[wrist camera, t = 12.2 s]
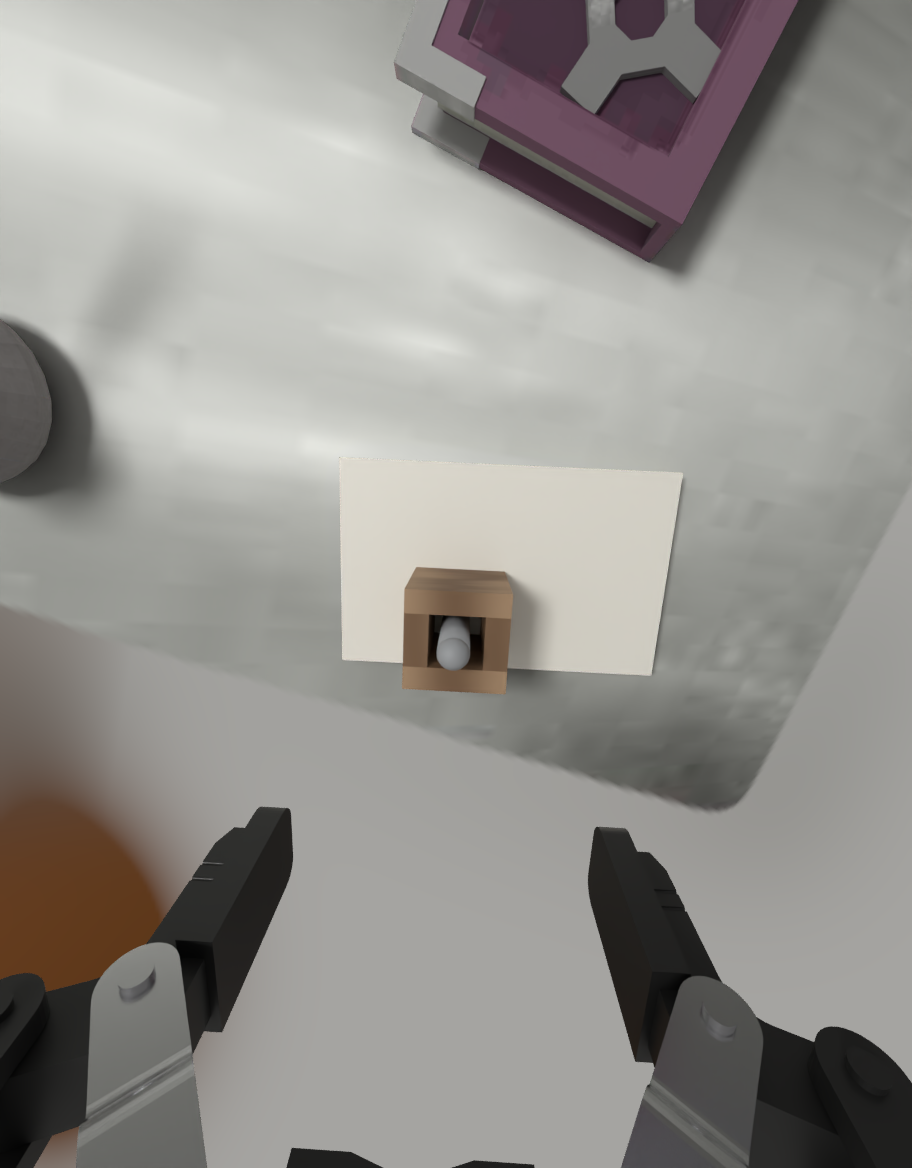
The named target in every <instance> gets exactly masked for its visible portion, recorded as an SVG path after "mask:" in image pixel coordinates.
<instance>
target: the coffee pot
mask: <svg viewBox="0 0 912 1168" xmlns="http://www.w3.org/2000/svg"><path fill="white" fill-rule="evenodd" d="M51 423H52V404H51V397H50V393H49V390H48V386H47V382H46V379H45V375H44V373H43V371H42V370H41V368H40V366H39V364H38V362H37V360H36V358H35V356H34V354H33V352H32V351H31V350H30V349H29V348H28V346H27V345H26V344H25V343H24V341H23V340H22V339H21V338H20V337H19V335H18V334H17V333H16V332H15V331H14V330H13V329H12V328H10V327H9V326H8V325H7V324H6V323H5V322H3V321H2V320H1V319H0V483H2V482H4V481H7V480H9V479H11V478H14V477H15V476H17V475H19V474H20V473H22V472H23V471H24V470H26V469H27V468H28V467H29V466H30V465H31V464H32V463H34V462H35V461H36V460H37V458H38V457H39V455H40V453H41V452H42V450H43V448H44V447H45V445H46V443H47V440H48V436H49V432H50V427H51Z"/></svg>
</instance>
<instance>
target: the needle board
mask: <svg viewBox="0 0 912 1168" xmlns="http://www.w3.org/2000/svg"><path fill="white" fill-rule="evenodd" d="M339 470H340V534H341V598H342V660H355V661H375V662H394V663H403V630H404V589H405V587H406V585H407V583H408V581H409V579H410V578H411V576H412V574H413V572H414V570H415V568H416V567H426V568H445V569H465V570H485V571H504V572H505V574H506V576H507V579H508V582H509V584H510V587H511V590H512V592H513V604H512V617H511V630H510V642H509V655H508V667H507V668H511V669H531V670H550V671H570V672H590V673H609V674H629V675H648V676H651V673H652V667H653V661H654V654H655V648H656V642H657V635H658V629H659V623H660V616H661V610H662V604H663V597H664V591H665V585H666V578H667V572H668V566H669V559H670V553H671V546H672V540H673V534H674V527H675V521H676V515H677V508H678V502H679V496H680V489H681V483H682V477H683V473H676V472H654V471H632V470H610V469H588V468H566V467H544V466H522V465H500V464H478V463H456V462H434V461H412V460H390V459H368V458H345V457H339ZM480 626H481V617H467V616H448V615H435V629H434V632H439V633H440V635H439V640H438V646H437V659H438V662H439V663H440V664H441V666H442V667H444V668H445V669H447V670H451V671H456V670H459V669H462V668H463V667H464V666H465V665H466V664H467V663H468V661H469V658H470V634H477V635H480Z"/></svg>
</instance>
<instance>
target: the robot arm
mask: <svg viewBox="0 0 912 1168" xmlns="http://www.w3.org/2000/svg"><path fill="white" fill-rule="evenodd" d="M292 862H293V846H292V826H291V812H290V809H288V808H275V807H259V808H258V809H257V810H256V812H255V813H254V815H253V816H252V818H251V819H250V821H249V823H248V824H247V826H246V827H245V828H235V827H234V828H233V829H232V830H231V831H229V832H228V833H227V834H226V835H225V836H223V837H222V838H221V839H220V840H218V841H217V842H216V843H215V844H214V846H213V847H212V849H211V850H210V852H209V853H208V855H207V856H206V858H205V859H204V861H203V864H202V865H200V866H199V868H198V869H197V871H196V872H195V874H194V875H193V878H192V880H191V881H189V883H188V884H187V885H186V887H185V888H184V890H183V891H182V893H181V894H180V896H179V897H178V899H177V900H176V902H175V903H174V904H173V906H172V907H171V909H170V910H169V912H168V913H167V915H166V917H165V918H164V919H163V921H162V922H161V924H160V925H159V927H158V928H157V929H156V931H155V932H154V934H153V935H152V937H151V938H150V940H149V941H148V942H147V944H146V945H143V946H140V947H138V948H135V949H134V950H132V951H130V952H128V953H127V954H125V955H123V956H122V957H121V958H120V959H118V960H117V961H116V962H114V963H113V964H112V965H111V966H110V967H109V968H108V969H107V970H106V972H105V973H104V974H103V975H102V977H100V978H97V979H94V980H91V981H87V982H83V983H79V984H75V985H72V986H68V987H64V988H60V989H56V990H52V991H48V992H46V990H45V985H44V982H43V980H42V979H41V978H40V977H39V976H38V975H35V974H30V973H23V974H16V975H12V976H9V977H6V978H3V979H1V980H0V1168H33V1167H34V1166H35V1164H36V1162H37V1160H38V1159H39V1157H40V1155H41V1154H42V1152H43V1150H44V1149H45V1147H46V1145H47V1143H48V1142H49V1140H50V1138H51V1137H52V1135H55V1134H58V1133H61V1132H64V1131H66V1130H69V1129H72V1128H75V1127H78V1126H80V1127H79V1133H78V1142H77V1159H76V1168H207V1163H206V1155H205V1147H204V1140H203V1132H202V1125H201V1117H200V1109H199V1101H198V1094H197V1087H196V1078H195V1071H194V1063H193V1057H192V1056H193V1053H194V1050H195V1049H196V1046H197V1044H198V1042H199V1040H200V1038H201V1035H202V1034H203V1032H204V1031H209V1032H222V1031H223V1029H224V1027H225V1024H226V1022H227V1020H228V1017H229V1015H230V1013H231V1011H232V1008H233V1006H234V1004H235V1002H236V999H237V997H238V995H239V993H240V990H241V988H242V986H243V983H244V981H245V979H246V976H247V974H248V972H249V970H250V967H251V965H252V963H253V961H254V958H255V956H256V954H257V952H258V949H259V947H260V945H261V943H262V940H263V938H264V936H265V934H266V931H267V929H268V927H269V924H270V922H271V920H272V918H273V915H274V913H275V911H276V908H277V906H278V904H279V902H280V899H281V897H282V895H283V893H284V890H285V888H286V886H287V883H288V881H289V877H290V874H291V869H292ZM588 889H589V897H590V902H591V906H592V909H593V913H594V917H595V920H596V924H597V927H598V931H599V934H600V938H601V941H602V945H603V949H604V952H605V956H606V959H607V963H608V966H609V970H610V973H611V977H612V980H613V984H614V987H615V991H616V995H617V998H618V1002H619V1005H620V1009H621V1012H622V1016H623V1019H624V1023H625V1027H626V1030H627V1033H628V1037H629V1041H630V1044H631V1048H632V1051H633V1055H634V1059H635V1061H636V1062H650V1063H653V1064H654V1067H655V1069H654V1072H653V1075H652V1079H651V1081H650V1084H649V1085H648V1086H647V1087H646V1090H645V1093H644V1096H643V1099H642V1102H641V1105H640V1108H639V1111H638V1115H637V1118H636V1121H635V1124H634V1127H633V1131H632V1134H631V1137H630V1140H629V1143H628V1147H627V1150H626V1153H625V1156H624V1159H623V1163H622V1166H621V1168H912V1083H911V1081H910V1080H909V1079H908V1077H907V1076H906V1075H905V1073H904V1072H903V1071H902V1070H901V1068H900V1067H899V1066H898V1065H897V1064H896V1063H895V1062H894V1061H893V1060H892V1059H891V1058H890V1057H889V1056H888V1055H887V1054H886V1053H884V1051H882V1050H881V1049H880V1048H879V1047H877V1046H876V1045H875V1044H873V1043H872V1042H870V1041H869V1040H867V1039H866V1038H864V1037H863V1036H861V1035H859V1034H857V1033H854V1032H853V1031H850V1030H847V1029H844V1028H840V1027H826V1028H823V1029H822V1030H820V1031H819V1032H818V1034H817V1036H816V1038H815V1042H812V1041H810V1040H807V1039H805V1038H802V1037H800V1036H797V1035H794V1034H792V1033H789V1032H787V1031H784V1030H782V1029H779V1028H777V1027H774V1026H772V1025H770V1024H768V1023H765V1022H764V1021H762V1020H760V1019H759V1018H757V1017H756V1016H755V1014H754V1013H753V1011H752V1010H751V1008H750V1007H749V1006H748V1004H747V1003H746V1002H745V1001H744V1000H743V999H742V998H741V997H740V996H739V995H738V994H737V993H736V992H735V991H733V990H732V989H731V988H730V987H728V986H727V985H725V984H723V983H722V981H721V980H720V978H719V976H718V974H717V972H716V970H715V968H714V966H713V964H712V962H711V960H710V958H709V956H708V954H707V952H706V950H705V948H704V946H703V944H702V942H701V940H700V938H699V936H698V934H697V931H696V929H695V927H694V926H693V923H692V921H691V919H690V917H689V915H688V913H687V912H685V908H684V905H683V903H682V901H681V899H680V897H679V895H677V894H676V889H675V887H674V885H673V883H672V881H671V879H670V877H669V875H668V873H667V871H666V870H665V868H664V867H663V866H662V865H661V864H660V863H659V862H658V861H657V860H656V859H655V858H654V857H653V856H652V855H651V854H650V853H648V852H637V850H636V848H635V846H634V843H633V841H632V839H631V837H630V835H629V832H628V831H627V830H626V829H624V828H609V827H596V828H595V830H594V836H593V843H592V851H591V858H590V865H589V873H588ZM287 1168H382V1167H380V1166H378V1165H376V1164H374V1163H372V1162H370V1161H368V1160H366V1159H364V1158H362V1157H360V1156H358V1155H356V1154H354V1153H352V1152H343V1151H329V1150H328V1151H327V1150H313V1149H300V1148H292V1149H291V1153H290V1157H289V1160H288V1164H287ZM453 1168H534V1165H531V1164H516V1163H502V1162H488V1161H471V1162H468V1163H465V1164H462V1165H459V1166H456V1167H453Z"/></svg>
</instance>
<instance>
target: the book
mask: <svg viewBox="0 0 912 1168" xmlns="http://www.w3.org/2000/svg"><path fill="white" fill-rule="evenodd" d="M797 2H798V0H416V2H415V5H414V8H413V10H412V13H411V16H410V19H409V21H408V24H407V27H406V30H405V33H404V35H403V38H402V41H401V44H400V47H399V49H398V52H397V55H396V58H395V61H394V65H395V71H396V77H397V79H398V80H400V81H402V82H403V83H405V84H407V85H409V86H410V87H412V88H414V89H416V90H418V91H419V92H421V93H423V96H422V98H421V101H420V104H419V107H418V109H417V112H416V115H415V117H414V120H413V123H412V125H411V127H412V132H413V133H415V134H416V135H418V136H420V137H422V138H424V139H425V140H427V141H429V142H431V143H433V144H434V145H436V146H438V147H440V148H442V149H443V150H445V151H447V152H449V153H451V154H452V155H454V156H456V157H458V158H460V159H461V160H463V161H465V162H467V163H469V164H470V165H472V166H474V167H476V168H478V169H479V168H480V169H482V170H484V171H485V172H487V173H489V174H491V175H493V176H494V177H496V178H498V179H500V180H502V181H503V182H505V183H507V184H509V185H511V186H512V187H514V188H516V189H518V190H520V191H521V192H523V193H525V194H527V195H529V196H530V197H532V198H534V199H536V200H538V201H539V202H541V203H543V204H545V205H546V206H548V207H550V208H552V209H554V210H555V211H557V212H559V213H561V214H563V215H564V216H566V217H568V218H570V219H572V220H573V221H575V222H577V223H579V224H581V225H582V226H584V227H586V228H588V229H590V230H591V231H593V232H595V233H597V234H599V235H600V236H602V237H604V238H606V239H608V240H609V241H611V242H613V243H615V244H617V245H618V246H620V247H622V248H624V249H626V250H627V251H629V252H631V253H633V254H635V255H636V256H638V257H640V258H642V259H644V260H645V261H647V262H650V261H651V260H652V259H653V257H654V256H655V255H656V254H657V253H658V252H659V251H660V249H661V248H662V247H663V246H664V245H665V244H666V243H667V241H668V240H669V239H670V238H671V237H672V236H673V234H674V233H675V232H676V231H677V230H678V229H679V228H680V226H681V225H682V224H683V222H684V220H685V218H686V216H687V214H688V212H689V210H690V208H691V207H692V205H693V203H694V201H695V199H696V197H697V195H698V193H699V191H700V189H701V187H702V185H703V183H704V181H705V179H706V178H707V176H708V174H709V172H710V170H711V168H712V166H713V164H714V162H715V160H716V158H717V156H718V154H719V152H720V151H721V149H722V147H723V145H724V143H725V141H726V139H727V137H728V135H729V133H730V131H731V129H732V127H733V125H734V123H735V122H736V120H737V118H738V116H739V114H740V112H741V110H742V108H743V106H744V104H745V102H746V100H747V98H748V96H749V95H750V93H751V91H752V89H753V87H754V85H755V83H756V81H757V79H758V77H759V75H760V73H761V71H762V69H763V67H764V66H765V64H766V62H767V60H768V58H769V56H770V54H771V52H772V50H773V48H774V46H775V44H776V42H777V40H778V39H779V37H780V35H781V33H782V31H783V29H784V27H785V25H786V23H787V21H788V19H789V17H790V15H791V13H792V11H793V10H794V8H795V6H796V4H797Z"/></svg>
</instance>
